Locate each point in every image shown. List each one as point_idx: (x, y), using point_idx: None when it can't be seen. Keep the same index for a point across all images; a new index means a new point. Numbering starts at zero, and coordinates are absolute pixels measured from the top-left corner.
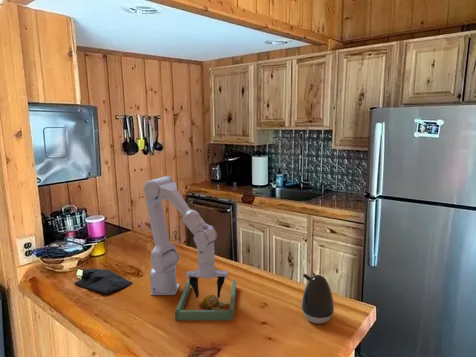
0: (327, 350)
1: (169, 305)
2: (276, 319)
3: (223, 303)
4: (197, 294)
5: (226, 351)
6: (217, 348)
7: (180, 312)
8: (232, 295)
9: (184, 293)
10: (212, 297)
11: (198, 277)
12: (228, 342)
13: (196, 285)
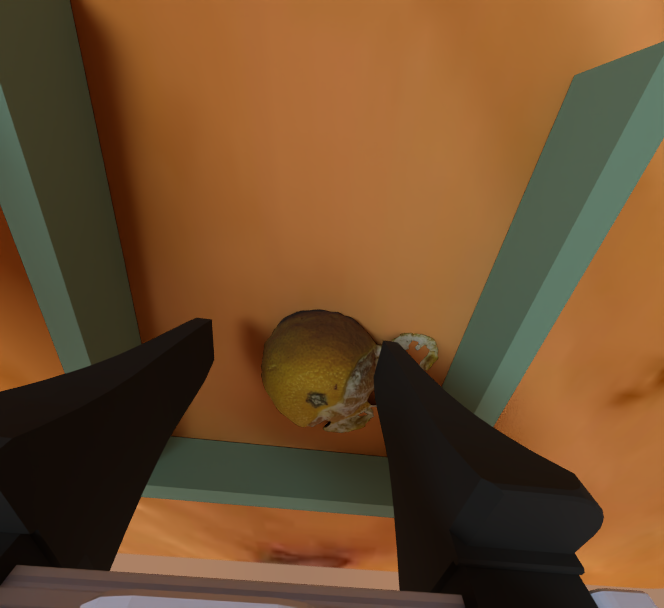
0: (648, 584)
1: (29, 318)
2: (615, 483)
3: (406, 345)
4: (198, 390)
5: (365, 567)
6: (339, 559)
7: (145, 494)
8: (498, 390)
9: (63, 310)
10: (333, 405)
11: (73, 594)
12: (378, 547)
13: (136, 487)
